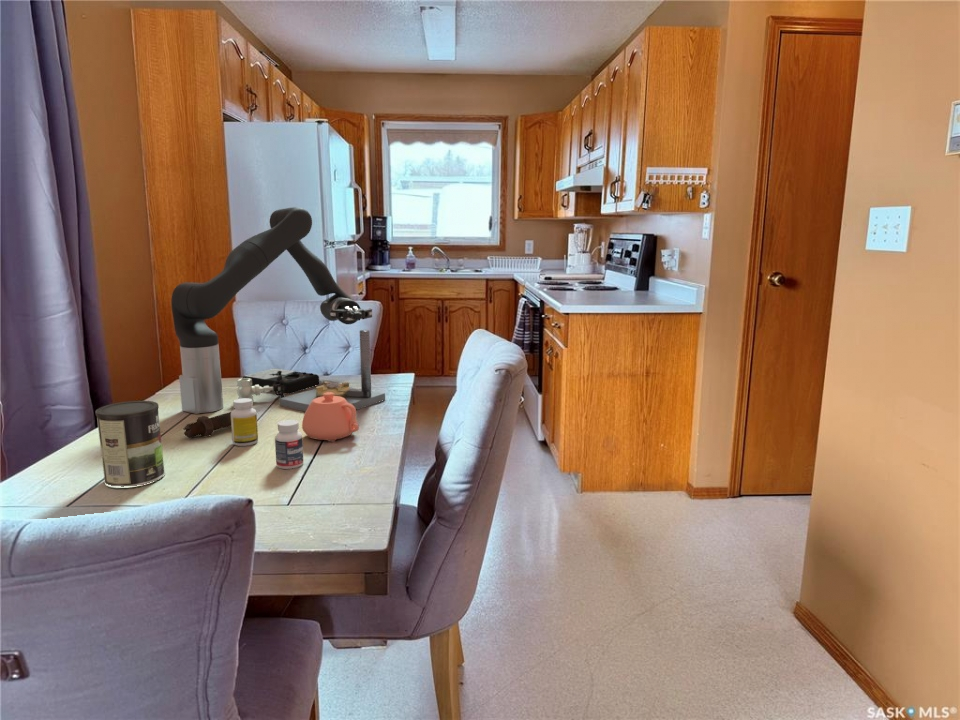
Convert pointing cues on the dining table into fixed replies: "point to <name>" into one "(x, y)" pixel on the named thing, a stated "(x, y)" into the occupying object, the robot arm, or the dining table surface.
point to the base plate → (305, 398)
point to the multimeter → (284, 379)
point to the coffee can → (130, 443)
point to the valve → (258, 388)
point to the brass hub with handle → (365, 391)
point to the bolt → (207, 425)
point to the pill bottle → (288, 445)
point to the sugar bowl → (329, 418)
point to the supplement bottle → (244, 423)
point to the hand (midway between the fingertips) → (357, 316)
